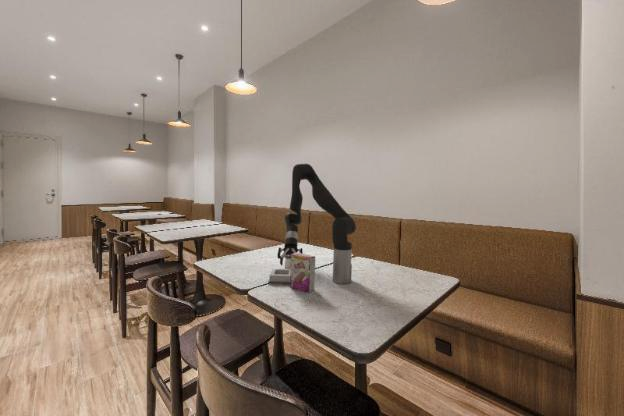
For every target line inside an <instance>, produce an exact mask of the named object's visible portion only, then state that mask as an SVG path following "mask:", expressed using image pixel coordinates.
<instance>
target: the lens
mask: <svg viewBox="0 0 624 416" xmlns="http://www.w3.org/2000/svg"><path fill="white" fill-rule="evenodd" d="M284 269H291V254H286V255H285V257H284Z"/></svg>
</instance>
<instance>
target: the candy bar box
mask: <svg viewBox="0 0 624 416" xmlns="http://www.w3.org/2000/svg"><path fill="white" fill-rule="evenodd" d="M315 276H316V256H315V255H311V254H307V253H303V254H302V253H299V252H297V253H293V254H291V276H290V285H289V286H290V288H291V289H295V290H299V291H302V292H305V293H311V292H313V291H314V290H315Z"/></svg>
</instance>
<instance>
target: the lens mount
mask: <svg viewBox="0 0 624 416" xmlns="http://www.w3.org/2000/svg"><path fill="white" fill-rule="evenodd" d="M290 276H291V269H285V268H272V270H271V272H270V273H269V279H268V281H267V284H268V285H287V286H288V285H289V286H290Z"/></svg>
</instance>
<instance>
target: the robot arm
mask: <svg viewBox="0 0 624 416" xmlns="http://www.w3.org/2000/svg"><path fill="white" fill-rule="evenodd" d="M291 175H292V176H291V198H290V203H289V210H290V211H291V212H286V214H285V215H284V220H285V221H284V222H285V226H286V229H285V230H286V231H285V237H284V238H285V239H284V246H283V248H282V247H280V246H279V247H278V250H277V254H276V255H277V259H278V260H279V264H280V266H283V263H284V259H285V255H286V254H293V253H302V254H304V253H303V251H304V250H303V247H301V248H298V244H299V243H298V242H299V225H300V224H301V223H302V219H303V218H302V213H301V212H302V205H303V195H302V191H301V188H300V187H301V186H300V184H301V181H305V180H306V181H307V182H308V183H309V184H310V185H311V188H312V189H311V192H312V193H311V194H312V198H313V199H314V201H315V202H316V204H317V205H318V206H319V207H320V208H321V209H322V210H323V211H325V212H326V213H328V214H329V215H331V216H332V217H333V218H334V220H333V223H332V225H331V226H332V228H331V234H332V235H331V237H332V239H331V241H332V244H333V256H332V257H333V259H332V260H333V261H332V282H333V283H336V284H339V285H340V284H341V285H346V284H351V283H352V273H353V272H352V271H353V270H352V268H353V265H352V252H353V251H352V249H353V248H352V247H353V244H352V243H351V242H350V241H349V240H348V235H352V234H353V233H355V232H356V229H357V225H356V222H355V221H354V219H353V217H351V215H349V214H348V213H347V212H346V211H345V210H344V208H343V207H342V206H341V204H340V203H339V202H338V201H337V200H336V198H335V197H334V196H333V195H332V193H331V192H330V190H329V189H328V187H326V186H325V184H324V183H323V181H322V180H321V179H320V177H319V176H318V174H317V173H316V170H315V169H314V168H313V166H312V165H311V164H309V163H297V164H295V165H294V166H293V168H292V173H291ZM281 253H282V254H281Z"/></svg>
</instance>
